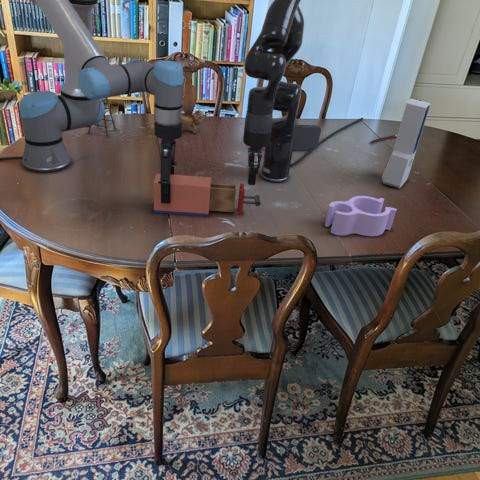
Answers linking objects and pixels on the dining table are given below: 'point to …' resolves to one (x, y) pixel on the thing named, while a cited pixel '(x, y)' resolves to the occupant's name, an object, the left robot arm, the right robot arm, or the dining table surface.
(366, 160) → the dining table surface
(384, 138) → the sword
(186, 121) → the lion figurine
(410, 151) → the electronic device
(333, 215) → the clip
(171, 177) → the cabinet
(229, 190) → the drawer
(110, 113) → the miniature windmill
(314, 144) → the handheld gaming console
